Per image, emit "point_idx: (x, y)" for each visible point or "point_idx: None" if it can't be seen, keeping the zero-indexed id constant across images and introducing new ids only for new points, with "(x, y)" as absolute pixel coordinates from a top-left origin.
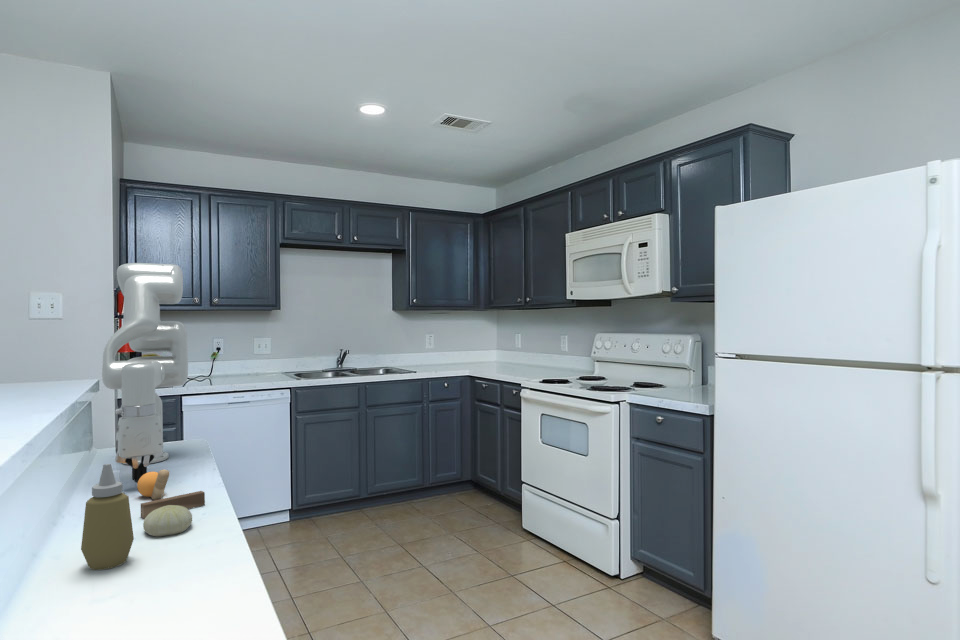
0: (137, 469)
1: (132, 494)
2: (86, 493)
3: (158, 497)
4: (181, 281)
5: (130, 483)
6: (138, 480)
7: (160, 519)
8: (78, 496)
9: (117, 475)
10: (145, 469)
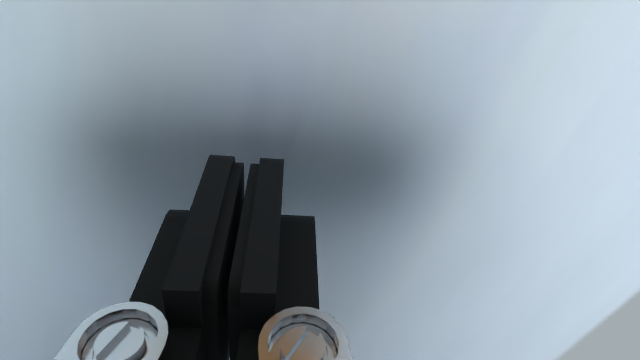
0: (275, 294)
1: (389, 3)
2: (560, 300)
3: None
4: None
5: None
6: (278, 173)
7: None
8: (633, 274)
9: None
10: (154, 286)
